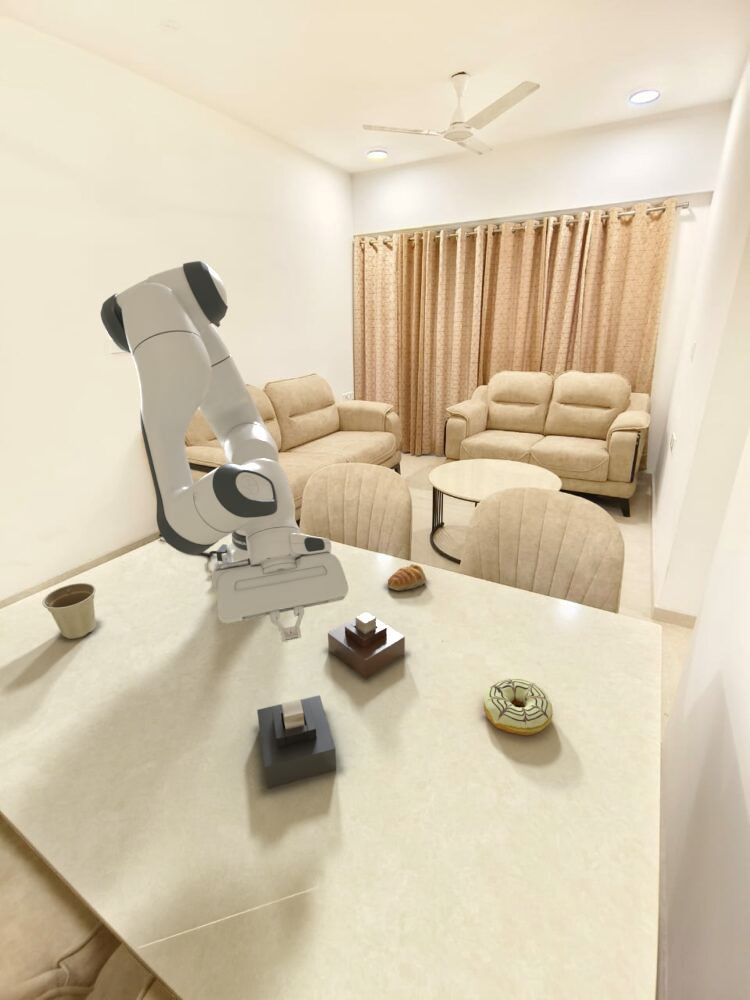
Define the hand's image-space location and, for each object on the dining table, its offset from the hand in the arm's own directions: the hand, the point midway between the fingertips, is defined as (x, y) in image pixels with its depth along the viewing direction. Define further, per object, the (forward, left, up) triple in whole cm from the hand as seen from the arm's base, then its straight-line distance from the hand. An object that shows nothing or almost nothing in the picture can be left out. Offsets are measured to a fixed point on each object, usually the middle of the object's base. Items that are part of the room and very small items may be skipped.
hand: (291, 639), depth 76 cm
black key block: (+5, -3, -16) cm, 17 cm away
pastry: (-24, +40, -16) cm, 49 cm away
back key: (-8, +18, -10) cm, 22 cm away
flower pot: (-48, -28, -16) cm, 58 cm away
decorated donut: (+19, +30, -16) cm, 39 cm away
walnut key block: (-8, +18, -16) cm, 25 cm away
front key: (+5, -3, -10) cm, 12 cm away
